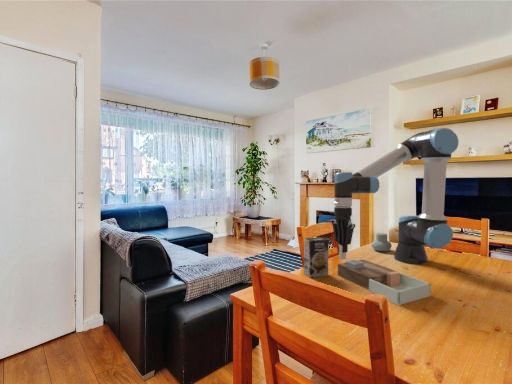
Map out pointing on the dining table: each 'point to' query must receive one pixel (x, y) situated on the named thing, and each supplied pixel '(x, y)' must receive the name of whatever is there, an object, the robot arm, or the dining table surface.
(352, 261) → the slate tile
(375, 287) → the tray
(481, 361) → the dining table surface
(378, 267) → the board
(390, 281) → the terracotta tile
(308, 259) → the coffee box
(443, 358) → the dining table surface
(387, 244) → the air freshener
